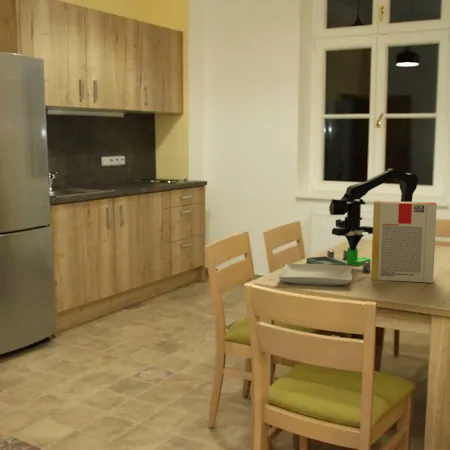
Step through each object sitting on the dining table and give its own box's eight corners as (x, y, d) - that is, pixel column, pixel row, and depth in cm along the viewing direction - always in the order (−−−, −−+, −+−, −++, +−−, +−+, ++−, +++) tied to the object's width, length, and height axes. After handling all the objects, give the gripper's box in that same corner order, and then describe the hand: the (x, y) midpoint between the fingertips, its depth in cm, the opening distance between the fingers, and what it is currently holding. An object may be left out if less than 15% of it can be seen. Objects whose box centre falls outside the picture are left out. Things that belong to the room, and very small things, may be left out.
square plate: (351, 274, 249) (352, 264, 248) (351, 289, 222) (352, 278, 222) (285, 271, 254) (286, 261, 254) (278, 285, 228) (278, 275, 227)
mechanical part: (358, 266, 264) (359, 248, 263) (346, 264, 268) (347, 246, 267) (372, 262, 272) (373, 245, 271) (361, 260, 276) (361, 243, 275)
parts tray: (325, 260, 276) (325, 256, 275) (346, 266, 261) (346, 262, 261) (306, 262, 272) (306, 257, 271) (326, 268, 257) (326, 264, 257)
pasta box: (431, 278, 239) (435, 202, 235) (433, 282, 231) (436, 204, 228) (371, 275, 245) (374, 200, 241) (371, 279, 237) (373, 202, 233)
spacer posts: (358, 256, 285) (358, 248, 285) (402, 269, 257) (403, 259, 257) (324, 259, 278) (324, 251, 277) (365, 272, 250) (366, 263, 249)
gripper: (360, 212, 274) (359, 246, 276) (325, 213, 266) (324, 249, 268) (375, 214, 263) (374, 250, 265) (339, 216, 256) (338, 253, 258)
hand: (352, 250), depth 265 cm, fingers closed
